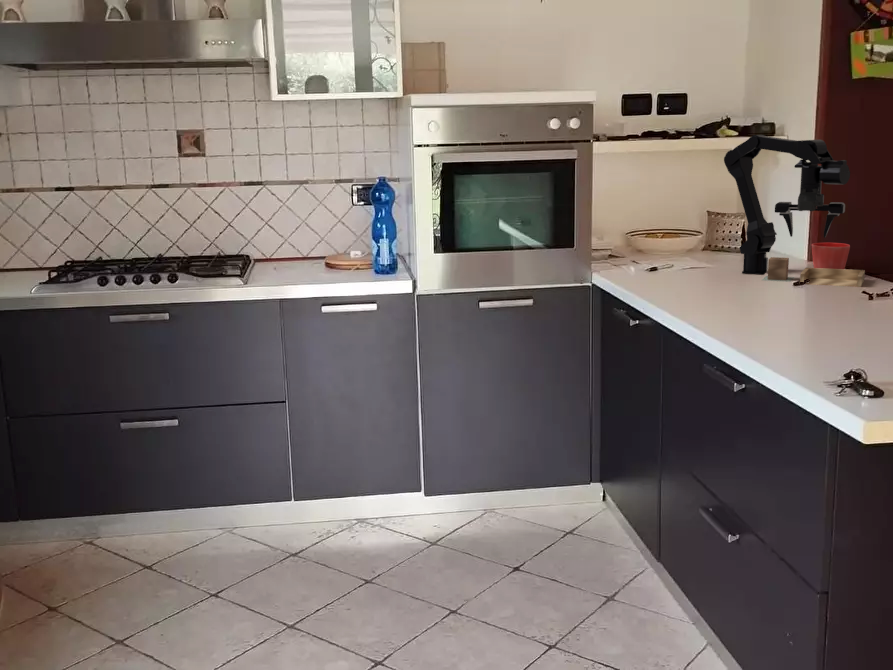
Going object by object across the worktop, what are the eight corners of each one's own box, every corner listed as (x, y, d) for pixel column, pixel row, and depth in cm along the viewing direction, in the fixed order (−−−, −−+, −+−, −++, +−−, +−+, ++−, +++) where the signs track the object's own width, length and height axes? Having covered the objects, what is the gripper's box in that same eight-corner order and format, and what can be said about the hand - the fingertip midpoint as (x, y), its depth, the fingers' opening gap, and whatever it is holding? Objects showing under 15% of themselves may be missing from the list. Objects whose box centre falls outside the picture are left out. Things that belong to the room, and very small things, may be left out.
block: (767, 279, 267) (768, 259, 265) (770, 277, 271) (771, 257, 270) (785, 280, 264) (786, 260, 263) (787, 277, 269) (788, 257, 267)
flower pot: (840, 273, 278) (843, 241, 276) (852, 279, 267) (855, 246, 265) (805, 273, 279) (807, 242, 277) (815, 279, 268) (817, 246, 266)
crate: (799, 285, 259) (800, 273, 258) (805, 279, 269) (805, 267, 268) (860, 288, 251) (861, 276, 250) (864, 282, 261) (864, 270, 261)
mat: (761, 282, 266) (761, 280, 266) (766, 277, 273) (766, 276, 273) (790, 283, 262) (790, 281, 262) (794, 279, 269) (794, 277, 269)
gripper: (772, 185, 261) (770, 239, 264) (842, 185, 252) (839, 241, 256) (779, 182, 270) (776, 234, 274) (846, 183, 262) (843, 236, 265)
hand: (807, 237), depth 267 cm, fingers open, 9 cm apart
